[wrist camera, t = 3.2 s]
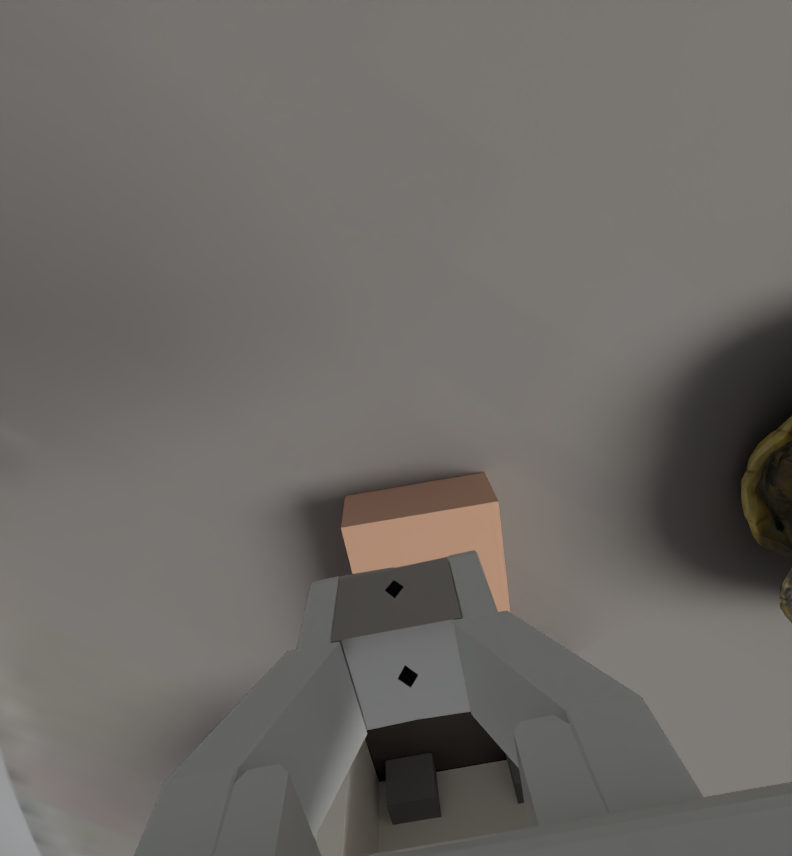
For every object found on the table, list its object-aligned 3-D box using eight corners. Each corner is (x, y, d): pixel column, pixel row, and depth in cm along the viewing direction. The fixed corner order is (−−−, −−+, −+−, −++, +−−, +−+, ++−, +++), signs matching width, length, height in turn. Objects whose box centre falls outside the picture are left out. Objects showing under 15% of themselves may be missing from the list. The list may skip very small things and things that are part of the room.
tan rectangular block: (345, 492, 22) (340, 527, 19) (482, 468, 21) (498, 501, 19) (380, 637, 25) (380, 685, 22) (500, 617, 25) (515, 664, 22)
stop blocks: (385, 760, 28) (386, 805, 25) (550, 731, 27) (565, 774, 25) (392, 781, 28) (393, 827, 26) (552, 753, 28) (567, 797, 26)
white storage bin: (330, 702, 26) (307, 926, 17) (578, 657, 25) (681, 866, 17) (364, 797, 29) (358, 1028, 20) (586, 759, 28) (676, 979, 20)
